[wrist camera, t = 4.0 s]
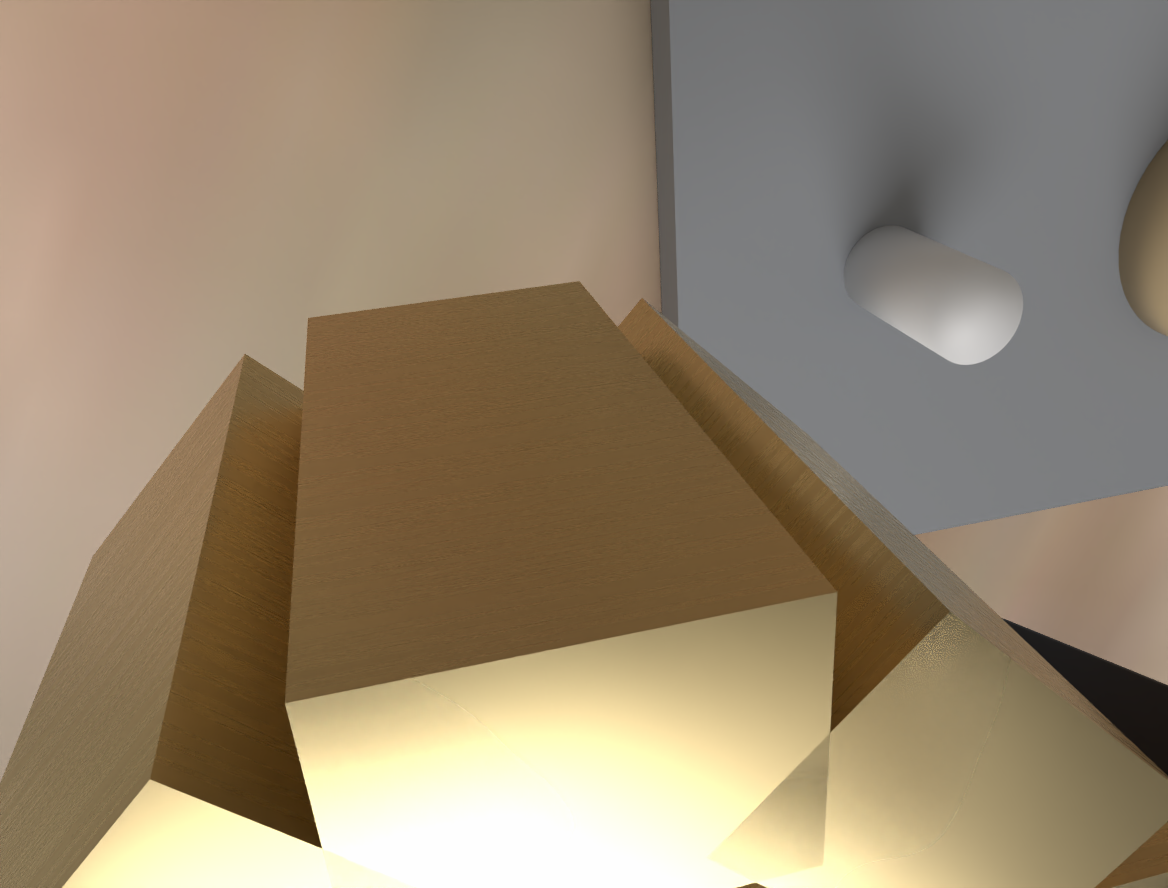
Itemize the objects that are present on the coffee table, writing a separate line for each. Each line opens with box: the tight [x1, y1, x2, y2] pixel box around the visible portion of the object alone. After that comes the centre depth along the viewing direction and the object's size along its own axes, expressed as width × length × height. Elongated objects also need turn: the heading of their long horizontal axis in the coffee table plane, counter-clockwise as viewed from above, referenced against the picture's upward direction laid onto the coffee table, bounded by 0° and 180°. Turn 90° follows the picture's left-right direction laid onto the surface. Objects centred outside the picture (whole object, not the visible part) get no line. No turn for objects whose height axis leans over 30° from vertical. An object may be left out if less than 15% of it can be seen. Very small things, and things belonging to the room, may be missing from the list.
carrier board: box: [651, 0, 1168, 535], centre depth 18 cm, size 15×12×4 cm
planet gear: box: [0, 281, 1168, 888], centre depth 7 cm, size 6×6×4 cm
